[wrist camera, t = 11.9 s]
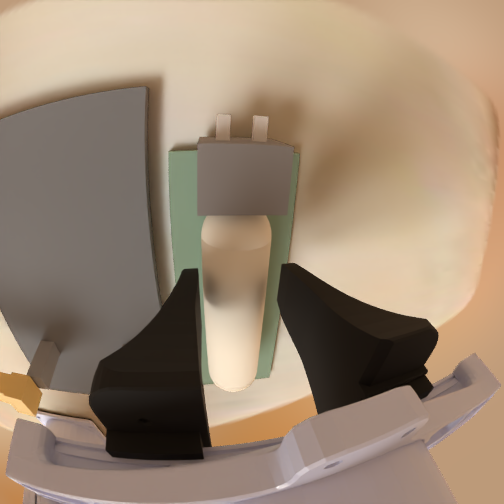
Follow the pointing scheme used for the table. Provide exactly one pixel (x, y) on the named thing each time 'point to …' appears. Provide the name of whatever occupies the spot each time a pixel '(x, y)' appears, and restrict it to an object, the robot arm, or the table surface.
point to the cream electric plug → (238, 242)
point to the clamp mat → (76, 233)
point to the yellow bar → (20, 392)
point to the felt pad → (190, 251)
